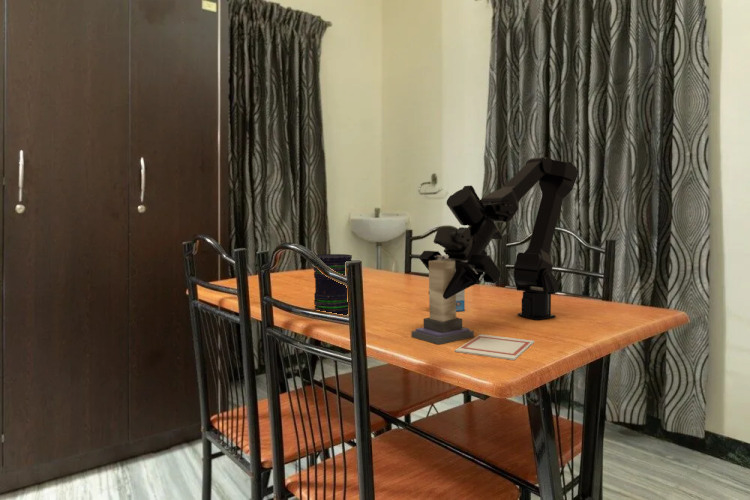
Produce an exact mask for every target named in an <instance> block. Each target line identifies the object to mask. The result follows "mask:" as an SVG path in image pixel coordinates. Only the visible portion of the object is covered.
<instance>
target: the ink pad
mask: <svg viewBox="0 0 750 500" xmlns="http://www.w3.org/2000/svg"><path fill="white" fill-rule="evenodd" d="M474 335H475V330H471V328H469V327H465V326H462V329H458V330H454V331H450V332H445V333H440V332H437V331H433V330H429V329H425V328H424V326H423V327H417V328H415V330H412V331H411V337H412V338H415V339H417V340H421V341H425V342H429V343H432V344H435V345H439V346H440V345H443V344H448V343H452V342H458V341H461V340H462V341H463V340H466V339H469V338H475V337H474Z"/></svg>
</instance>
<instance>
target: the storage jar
mask: <svg viewBox="0 0 750 500" xmlns="http://www.w3.org/2000/svg"><path fill="white" fill-rule="evenodd" d="M316 256H317V257H318V258H320V259H321V260H322V261H323V262H324V263H325V264H326V265H327V266H329V267H330V268H331V269H333V270H334V271H336V272H338V273H340V274H343V275H345V262H346V261H352V258H353V255H352V254H343V253H342V254H341V253H332V254H329V253H328V254H327V253H326V254H325V253H324V254H317V255H316ZM313 271H314V272H313V278H314V285H315V286H314V287H315V292H314V300H313V303H314V311H315V310H320V311H326V312H332V313H337V314H343V315H347V314H348V302H347V288H346V286H345V285H343V284H340V283H338V282H336V281H334V280H332V279H330V278H328V277H326V276H325V275H324V274H322V273H321V272H320V271H319V270H318V269H317V268H315V267H314V266H313Z"/></svg>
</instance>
